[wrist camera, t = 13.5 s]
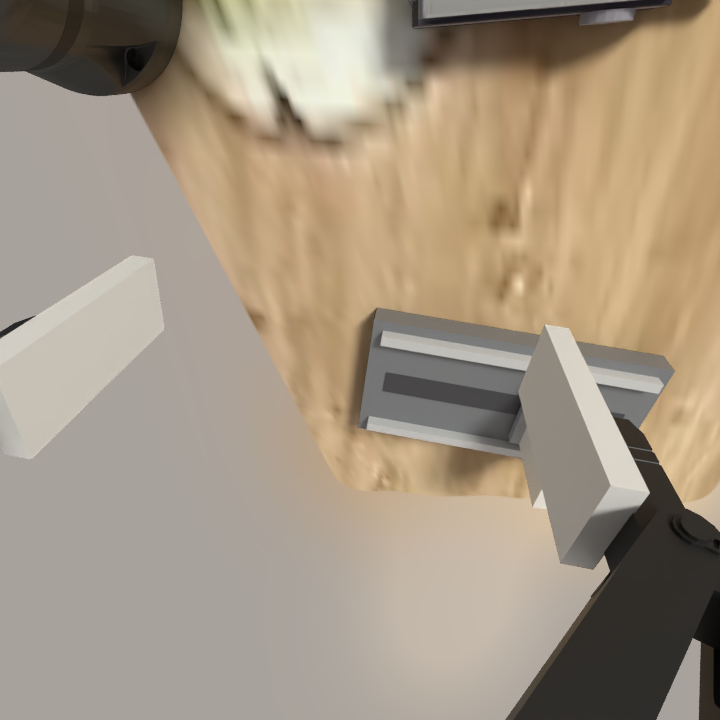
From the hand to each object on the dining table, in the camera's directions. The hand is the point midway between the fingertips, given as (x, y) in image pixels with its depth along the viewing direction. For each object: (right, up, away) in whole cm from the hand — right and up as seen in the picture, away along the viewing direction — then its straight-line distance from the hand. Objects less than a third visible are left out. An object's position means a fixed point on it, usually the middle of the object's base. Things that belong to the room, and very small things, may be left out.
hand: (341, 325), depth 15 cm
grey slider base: (+15, -4, +32) cm, 36 cm away
